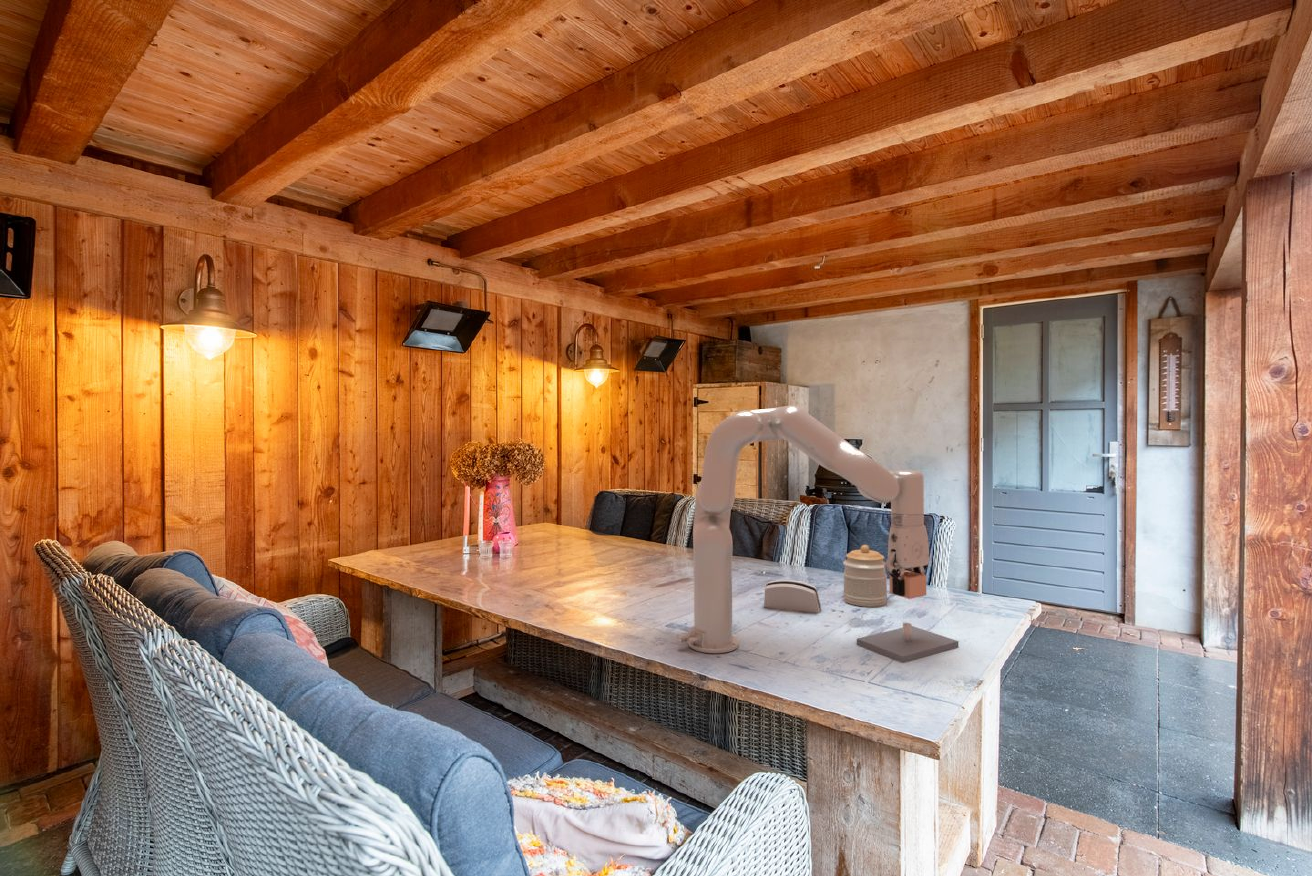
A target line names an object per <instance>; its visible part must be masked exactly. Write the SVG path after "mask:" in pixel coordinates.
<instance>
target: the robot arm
mask: <svg viewBox="0 0 1312 876" xmlns="http://www.w3.org/2000/svg"><path fill="white" fill-rule="evenodd" d="M777 440H785V441H787V442H788V443H789V444H790V445H792V446H793V447H794V448H796V449H797V450H799V451H800V452H802V453H803V454H805V455H806V456H807V457H809V458H810V459H811V460H813V461H814V462H815V463H817V465H819V466H821V467H823V468H824V469H826V470H827V471H830V472H832V473H834V474H836V475H838V476H840V477H842V478H843V479H845V480H846V481H848V482H849V483H850V484H852V485H854V486H855V487H856V489H857V491H858V492H859V493H860V495H861V496H863V498H864V497H865V498H866V499H868V500H871V501H874V502H877V503H878V504H888V503H890V511H891V512H890V515H891V516H890V523H891V524H890V525H891V526H890V527H889V534H888V545H887V546H888V547H887V560H886V561H885V564H884V567H885V571H886V572H888V574H889V577H890V576H891V578H892V592H893V594H892V595H894V594H896V595H895V596H897V595H900V596H899V597H901V596H904V595H905V584H904V580H903V575H904V571H905V570H907V569H911V572H915V573H919V574H924V575H926V569H927V567H928V565H929V563H930V561H931V557H930V545H929V537H928V531H927V527H926V526H927V525H925V515H924V513H925V512H924V511H925V510H924V509H925V507H924V505H925V502H924V500H925V499H924V496H925V495H924V491H925V490H924V486H925V485H924V474H923V473H922V471H919V470H914V469H900V470H899V469H897V470H893V471H892V470H888V469H887V468H885V467H883V466H882V465H881V464H880V463H879V462H877V461H875V460H874V459H872V458H871V457H870V456H868V455H867V454H865V453H864V452H862V451H861V450H859V449H858V448H857V447H855V446H854V445H853V444H852V443H850V442H848V441H847V440H845V439H843V437H841V436H840V435H838V434H837V433H835V432H834V431H833V430H832V429H830V428H829V427H827V426H826V425H825V424H823V422H820V421H819V420H818V419H816V418H815V417H814V416H812V415H811V414H810V413H809V412H807V411H806V410H805V409H803V408H801V407H799V406H797V405H791V404H790V405H784V406H778V407H772V408H763V409H753V410H746V409H744V410H740V411H736V412H734V413H732V415H730V416H728V417H726V418H724V419H723V420H721V421H720V422H719V423H718V424H717V425H716V427H714V429H713V430H712V432H711V433H710V435H709V437H708V440H707V442H706V446H705V450H704V458H703V465H702V471H701V473H702V474H701V480H700V482H699V483H698V485H697V490H696V497H695V505H694V506H695V507H694V508H695V509H694V514H693V515H694V517H693V524H692V525H693V528H692V539H693V541H692V543H693V544H692V545H693V547H692V548H693V549H692V550H693V611H694V613H693V618H694V619H693V622H694V623H693V625H694V626H690V630H689V631H688V632H686V633H680V634H677V636H676V639H677V642H678V643H685V642H687V644H688V646H689V648H691V649H692V650H693V651H697V652H701V653H705V654H724V653H730V652H734V651H735V650H737V649H738V647H739V646H740V645H739V643H740V642H739V639H738V638H737V637H736V636H734V635H733V581H732V580H733V579H732V578H733V572H732V570H733V551H734V549H733V548H734V547H733V536H732V535H733V534H732V533H731V532H732V531H731V529H730V522H731V521H730V520H731V513H732V507H733V506H734V504H735V499H736V483H737V482H736V481H737V472H738V465H739V458H740V454H741V452H742V451H743V449H744V448H745V447H746V446H748V445H751V444H753V443H756V442H757V443H758V442H760V443H761V442H768V441H777ZM898 570H899V571H898ZM898 572H899V573H898Z"/></svg>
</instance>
